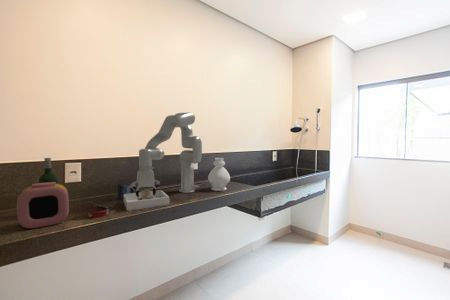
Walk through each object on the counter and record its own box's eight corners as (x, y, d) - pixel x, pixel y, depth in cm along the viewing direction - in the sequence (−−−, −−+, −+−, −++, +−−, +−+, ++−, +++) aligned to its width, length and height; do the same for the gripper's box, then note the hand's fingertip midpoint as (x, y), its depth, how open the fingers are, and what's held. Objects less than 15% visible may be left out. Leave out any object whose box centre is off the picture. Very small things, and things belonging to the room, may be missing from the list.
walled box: (161, 197, 154) (161, 190, 154) (169, 205, 137) (169, 197, 137) (123, 201, 143) (123, 194, 142) (127, 211, 125) (126, 202, 125)
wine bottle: (56, 209, 127) (54, 157, 125) (60, 212, 122) (58, 158, 120) (38, 213, 121) (36, 158, 119) (42, 216, 116) (40, 159, 114)
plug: (149, 200, 143) (149, 189, 142) (150, 202, 139) (150, 191, 138) (141, 201, 141) (141, 190, 140) (142, 203, 137) (142, 192, 136)
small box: (120, 200, 146) (119, 184, 146) (117, 198, 151) (117, 183, 151) (136, 197, 153) (136, 182, 152) (133, 195, 158) (133, 181, 157)
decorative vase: (220, 192, 168) (221, 159, 167) (203, 189, 179) (203, 158, 178) (234, 188, 183) (234, 158, 181) (217, 185, 193) (217, 156, 192)
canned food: (90, 222, 121) (89, 204, 124) (110, 218, 124) (109, 200, 128) (84, 219, 111) (83, 199, 114) (106, 215, 114) (105, 196, 118)
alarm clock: (17, 232, 97) (15, 188, 96) (21, 224, 106) (19, 183, 105) (69, 222, 108) (68, 183, 107) (68, 216, 117) (67, 179, 116)
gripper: (158, 167, 146) (158, 193, 147) (129, 168, 138) (130, 196, 139) (161, 168, 140) (161, 195, 141) (131, 170, 131) (131, 199, 132)
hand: (146, 195), depth 140 cm, fingers open, 9 cm apart
